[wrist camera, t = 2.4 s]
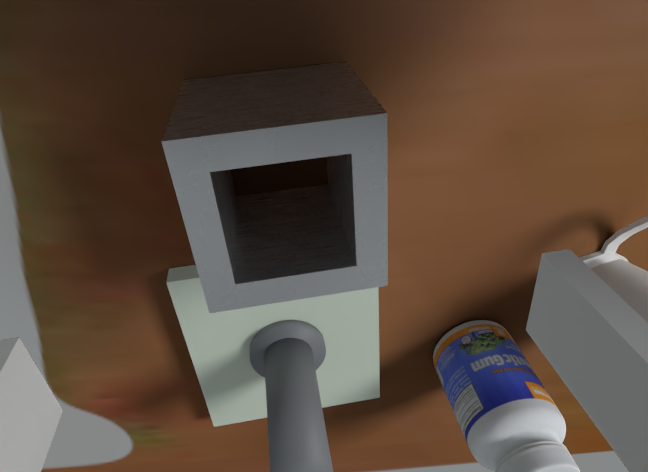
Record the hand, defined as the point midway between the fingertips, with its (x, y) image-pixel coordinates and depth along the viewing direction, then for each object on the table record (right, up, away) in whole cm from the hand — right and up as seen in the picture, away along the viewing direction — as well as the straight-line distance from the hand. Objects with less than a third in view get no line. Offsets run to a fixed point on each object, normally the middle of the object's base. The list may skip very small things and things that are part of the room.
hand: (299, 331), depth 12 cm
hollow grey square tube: (-2, +7, +10) cm, 12 cm away
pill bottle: (+10, -5, +20) cm, 23 cm away
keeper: (-2, -3, +17) cm, 17 cm away
